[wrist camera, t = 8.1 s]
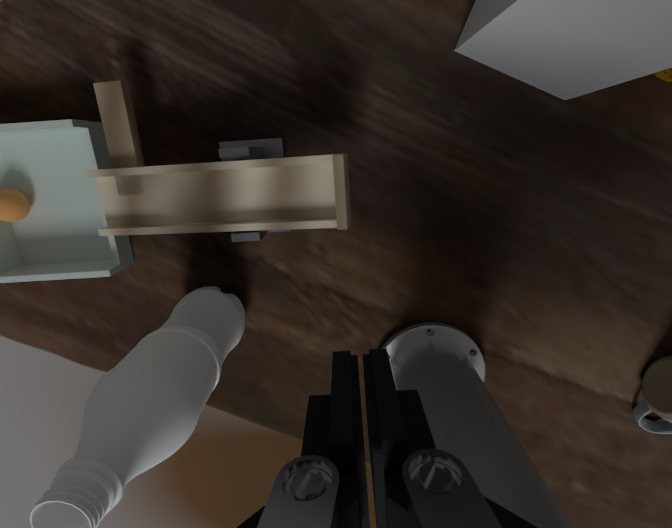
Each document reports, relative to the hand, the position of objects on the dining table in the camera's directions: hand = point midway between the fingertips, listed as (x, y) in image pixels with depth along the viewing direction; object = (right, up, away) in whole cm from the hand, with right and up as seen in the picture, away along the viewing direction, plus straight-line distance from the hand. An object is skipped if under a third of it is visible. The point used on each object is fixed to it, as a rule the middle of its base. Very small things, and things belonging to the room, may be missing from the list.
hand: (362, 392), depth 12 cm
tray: (-29, +10, +27) cm, 41 cm away
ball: (-32, +10, +25) cm, 42 cm away
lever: (-11, +13, +20) cm, 27 cm away
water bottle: (-14, -1, +31) cm, 33 cm away
